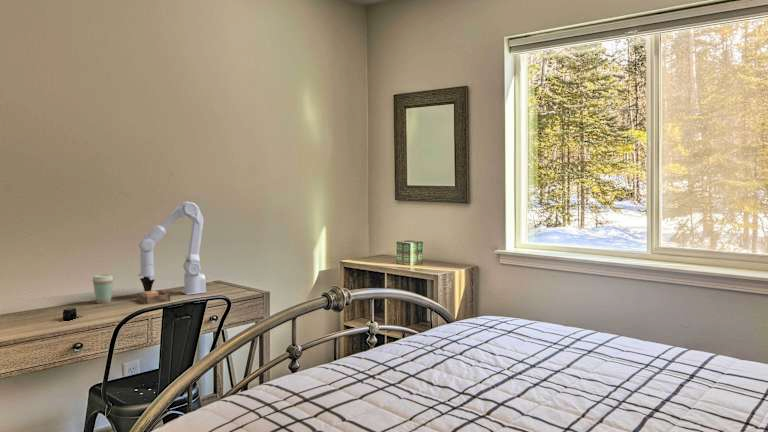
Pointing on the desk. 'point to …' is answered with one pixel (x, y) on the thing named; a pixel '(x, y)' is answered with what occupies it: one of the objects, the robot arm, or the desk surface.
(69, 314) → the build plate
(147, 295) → the salmon pink block
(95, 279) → the coffee cup
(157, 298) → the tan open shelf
